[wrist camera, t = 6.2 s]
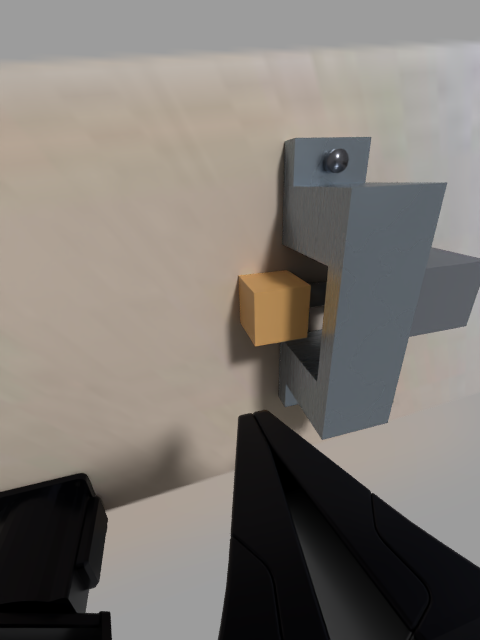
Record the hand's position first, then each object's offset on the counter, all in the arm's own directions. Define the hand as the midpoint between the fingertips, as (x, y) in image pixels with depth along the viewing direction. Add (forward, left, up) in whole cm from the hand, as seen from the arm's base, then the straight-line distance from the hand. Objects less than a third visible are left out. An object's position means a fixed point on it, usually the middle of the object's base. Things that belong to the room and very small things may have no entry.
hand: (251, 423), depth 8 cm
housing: (+7, 0, -10) cm, 12 cm away
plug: (+9, 0, -10) cm, 13 cm away
